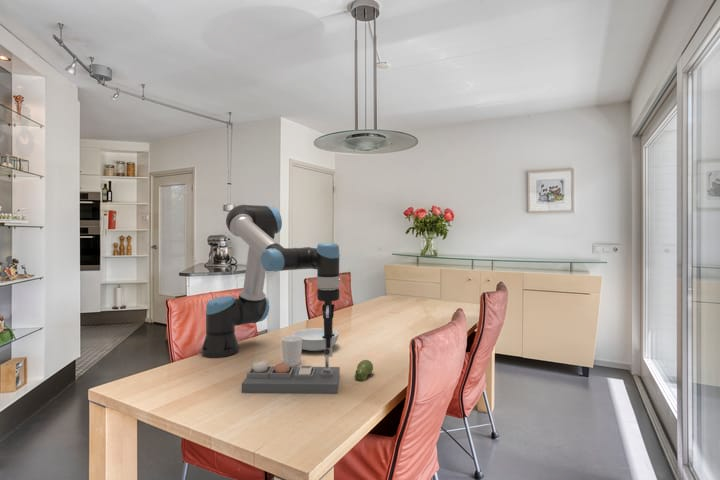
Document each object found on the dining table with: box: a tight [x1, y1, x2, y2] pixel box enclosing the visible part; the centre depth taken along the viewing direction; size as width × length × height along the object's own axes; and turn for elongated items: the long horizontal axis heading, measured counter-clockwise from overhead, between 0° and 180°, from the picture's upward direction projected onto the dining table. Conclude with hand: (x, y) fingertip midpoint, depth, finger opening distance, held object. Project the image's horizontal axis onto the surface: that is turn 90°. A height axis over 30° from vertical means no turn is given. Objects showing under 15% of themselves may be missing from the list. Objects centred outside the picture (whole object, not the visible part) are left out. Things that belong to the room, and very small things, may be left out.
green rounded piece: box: [354, 359, 374, 382], centre depth 140 cm, size 6×5×10 cm
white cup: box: [281, 335, 303, 367], centre depth 153 cm, size 8×8×10 cm
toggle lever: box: [323, 349, 332, 372], centre depth 132 cm, size 2×2×8 cm
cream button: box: [252, 359, 269, 373], centre depth 132 cm, size 5×5×3 cm
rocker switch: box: [298, 365, 313, 375], centre depth 133 cm, size 5×4×1 cm
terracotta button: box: [274, 363, 290, 373], centre depth 133 cm, size 5×5×3 cm
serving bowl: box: [291, 327, 339, 352], centre depth 173 cm, size 21×21×7 cm
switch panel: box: [241, 365, 341, 394], centre depth 133 cm, size 16×31×5 cm, turn 90°
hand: (328, 356), depth 133 cm, fingers closed
